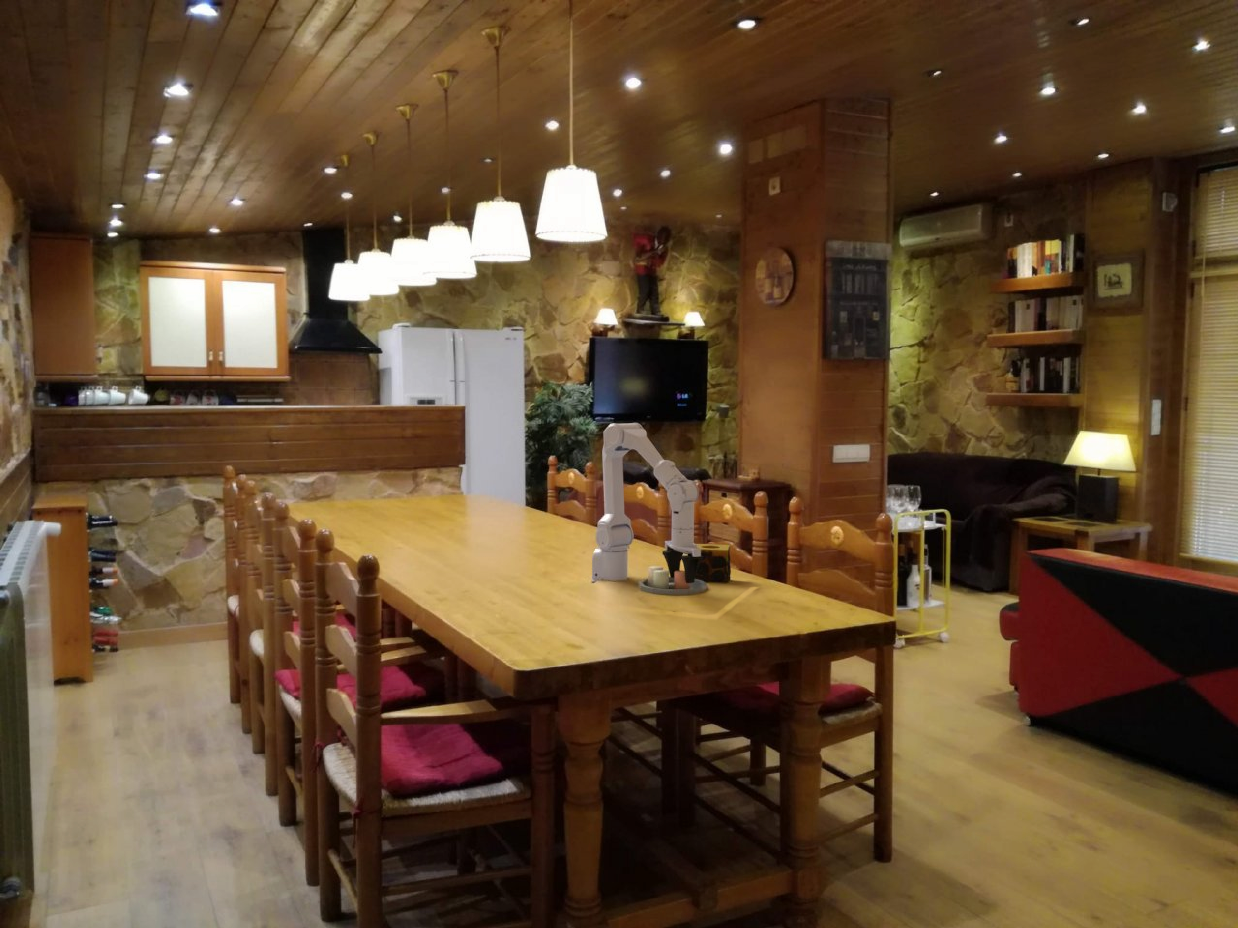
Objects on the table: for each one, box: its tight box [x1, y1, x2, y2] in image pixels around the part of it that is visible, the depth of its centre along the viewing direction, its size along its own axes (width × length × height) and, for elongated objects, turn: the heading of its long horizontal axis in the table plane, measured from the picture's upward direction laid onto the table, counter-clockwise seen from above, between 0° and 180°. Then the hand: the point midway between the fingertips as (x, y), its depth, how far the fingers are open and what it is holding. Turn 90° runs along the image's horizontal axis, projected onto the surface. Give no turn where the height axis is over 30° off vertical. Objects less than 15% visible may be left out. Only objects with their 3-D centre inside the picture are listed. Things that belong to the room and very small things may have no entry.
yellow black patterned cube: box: [695, 543, 732, 584], centre depth 262 cm, size 10×10×10 cm
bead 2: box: [674, 570, 690, 589], centre depth 246 cm, size 4×4×5 cm
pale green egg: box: [653, 569, 670, 589], centre depth 246 cm, size 4×4×5 cm
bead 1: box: [647, 565, 664, 587], centre depth 252 cm, size 4×4×5 cm
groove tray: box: [637, 576, 708, 596], centre depth 250 cm, size 18×18×2 cm
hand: (682, 579), depth 246 cm, fingers open, 7 cm apart
